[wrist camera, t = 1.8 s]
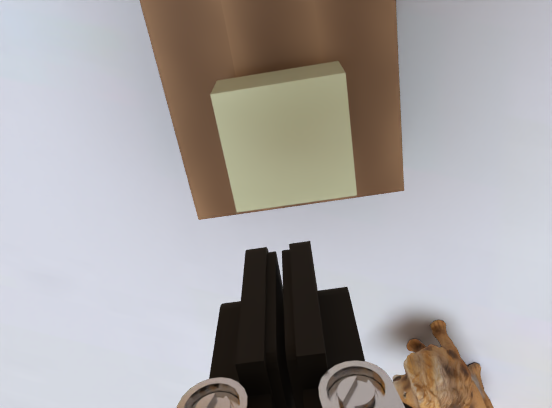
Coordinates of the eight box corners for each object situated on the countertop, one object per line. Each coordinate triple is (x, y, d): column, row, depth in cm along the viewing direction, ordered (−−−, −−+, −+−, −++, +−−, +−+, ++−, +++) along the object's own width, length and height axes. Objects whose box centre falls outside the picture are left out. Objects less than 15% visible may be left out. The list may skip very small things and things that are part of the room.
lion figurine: (364, 327, 40) (386, 420, 32) (416, 291, 38) (452, 380, 30) (465, 414, 45) (506, 514, 37) (515, 385, 43) (570, 484, 35)
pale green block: (328, 44, 26) (345, 72, 19) (339, 142, 28) (356, 195, 22) (226, 61, 26) (210, 94, 20) (245, 156, 29) (236, 212, 22)
